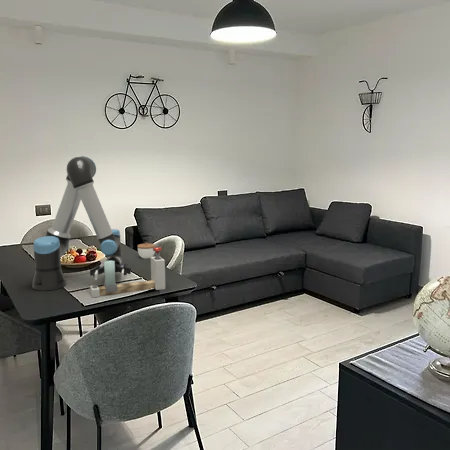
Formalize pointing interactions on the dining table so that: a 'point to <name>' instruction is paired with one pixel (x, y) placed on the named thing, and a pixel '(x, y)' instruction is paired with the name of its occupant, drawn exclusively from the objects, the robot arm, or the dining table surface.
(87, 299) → the dining table surface
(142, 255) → the lidded jar
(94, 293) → the block
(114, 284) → the carriage
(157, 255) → the gauge plunger
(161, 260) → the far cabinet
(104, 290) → the rail
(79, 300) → the dining table surface
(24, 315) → the dining table surface
